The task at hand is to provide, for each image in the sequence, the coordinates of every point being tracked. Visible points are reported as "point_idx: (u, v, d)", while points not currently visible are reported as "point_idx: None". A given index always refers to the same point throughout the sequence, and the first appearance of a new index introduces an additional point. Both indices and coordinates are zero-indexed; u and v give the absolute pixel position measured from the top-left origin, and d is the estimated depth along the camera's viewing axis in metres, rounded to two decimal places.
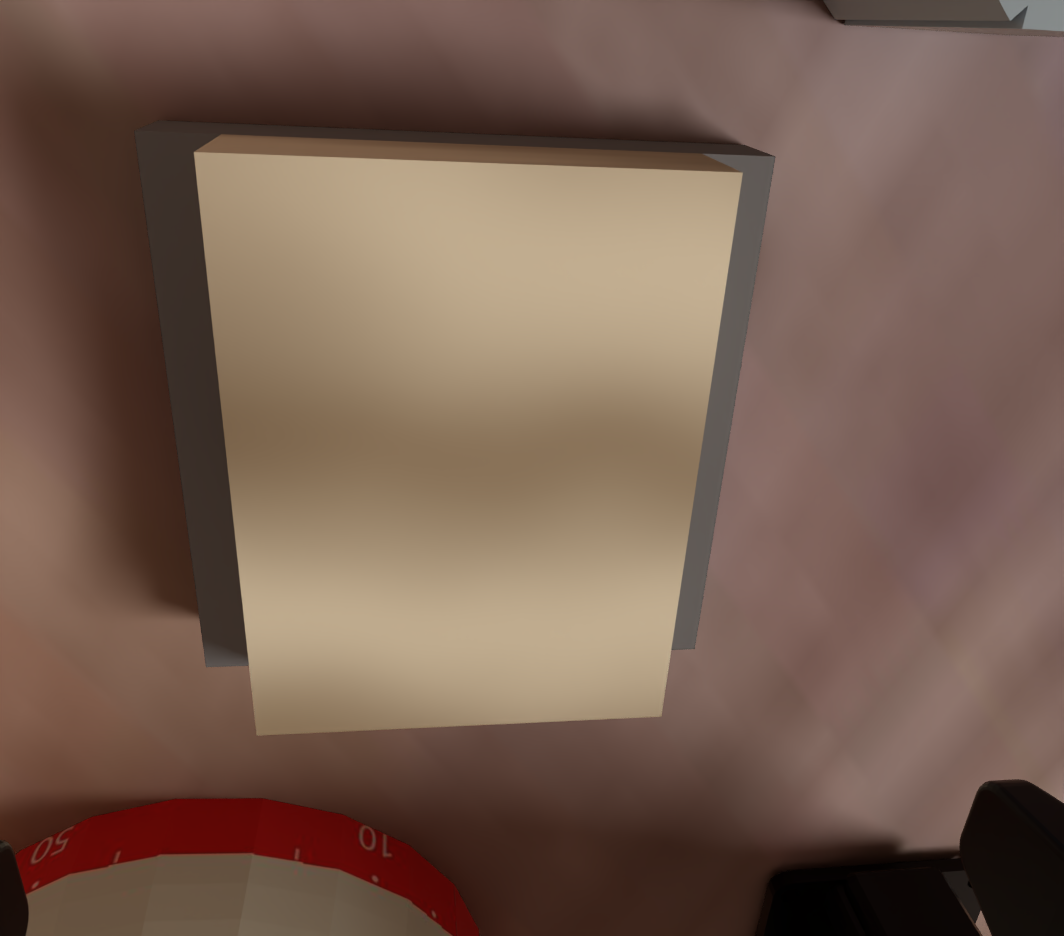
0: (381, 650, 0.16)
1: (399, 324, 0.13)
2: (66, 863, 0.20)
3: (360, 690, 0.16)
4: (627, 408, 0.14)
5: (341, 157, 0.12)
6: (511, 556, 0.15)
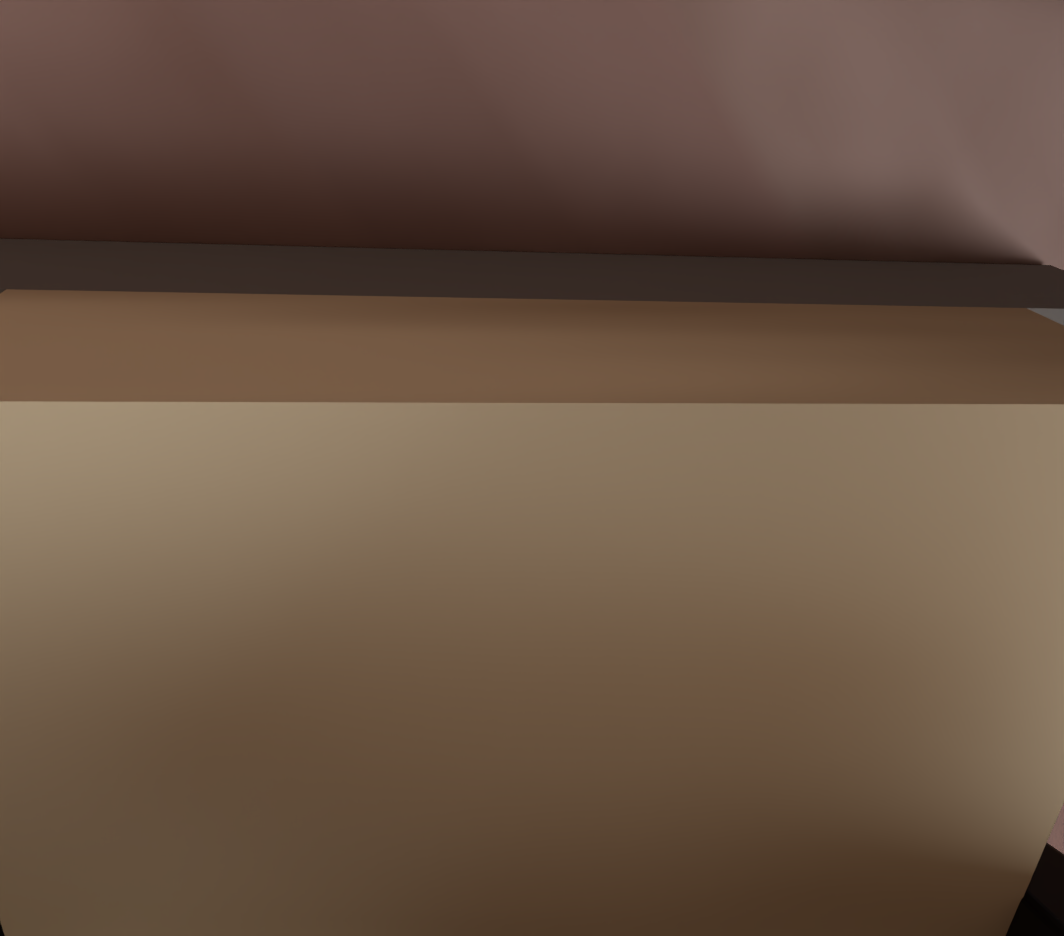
0: None
1: (403, 742, 0.06)
2: None
3: None
4: (885, 854, 0.07)
5: (252, 399, 0.05)
6: None
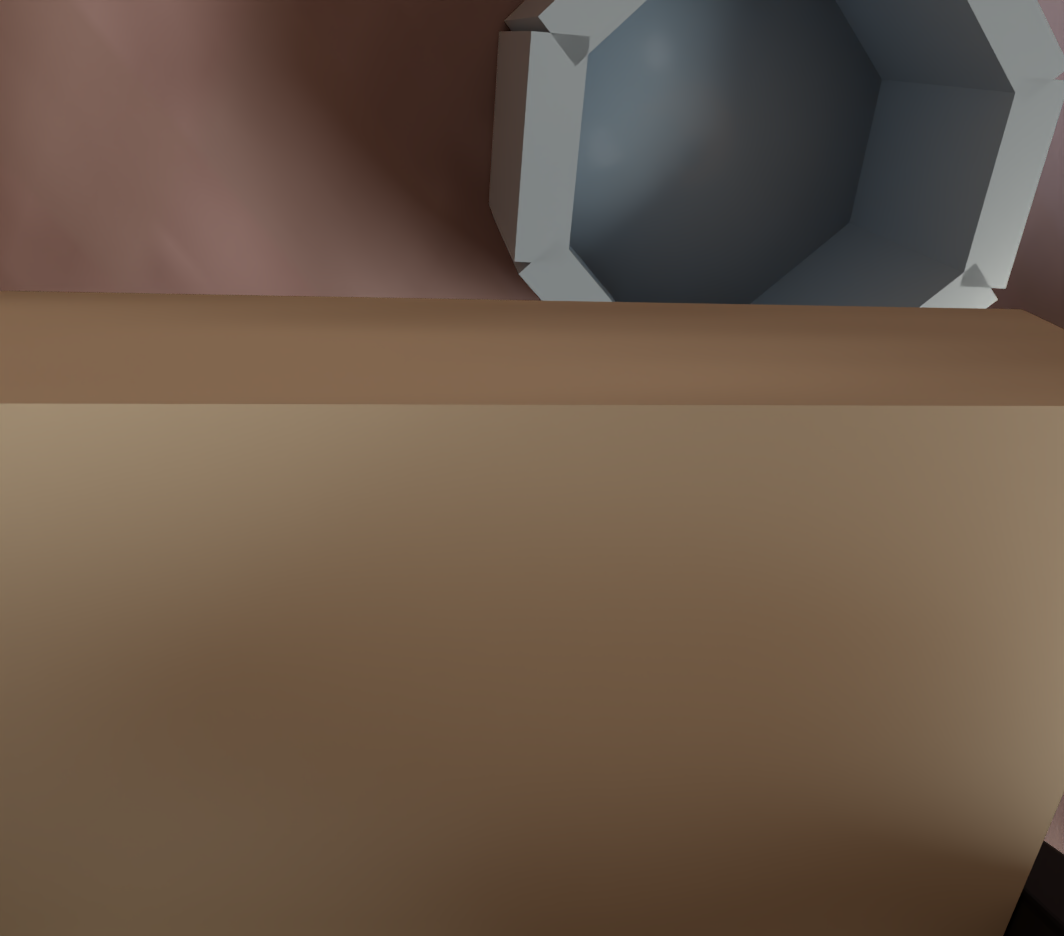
0: None
1: (398, 746, 0.06)
2: None
3: None
4: (881, 857, 0.07)
5: (246, 401, 0.05)
6: None
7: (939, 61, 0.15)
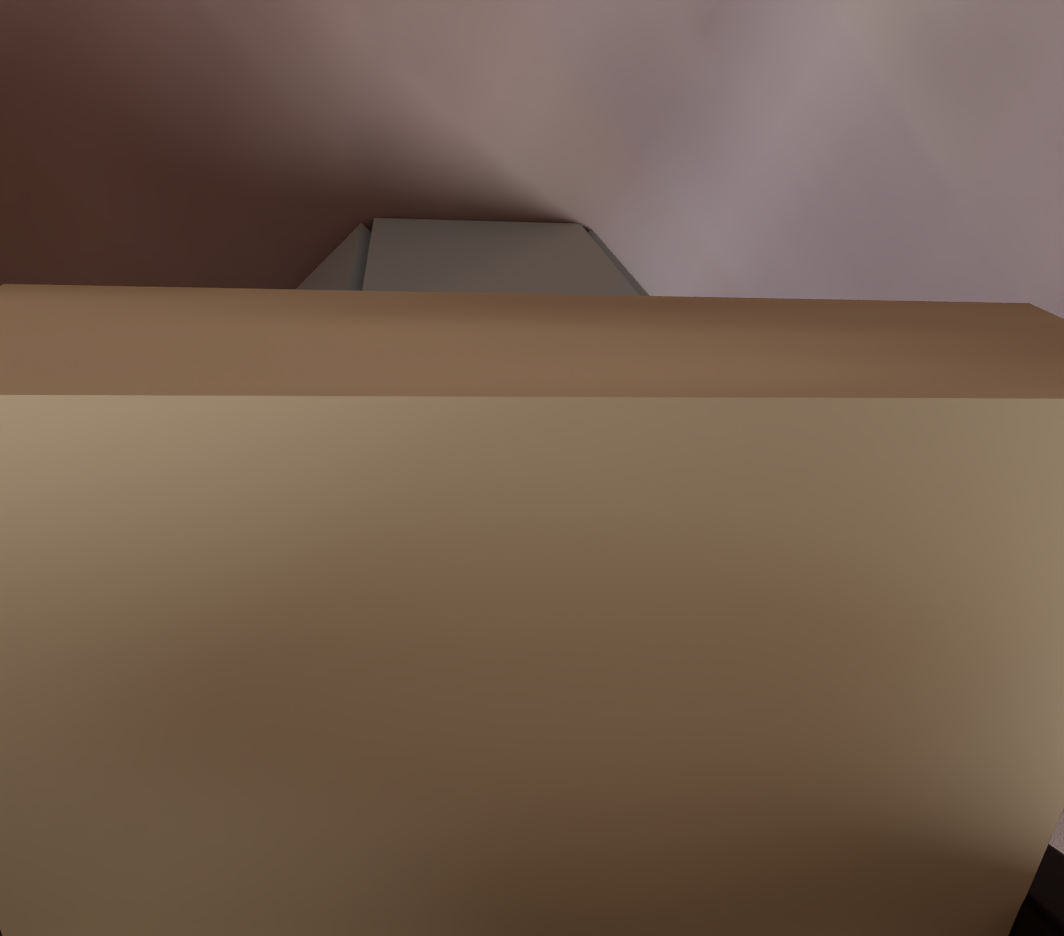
0: None
1: (402, 740, 0.06)
2: None
3: None
4: (887, 853, 0.07)
5: (251, 392, 0.05)
6: None
7: None
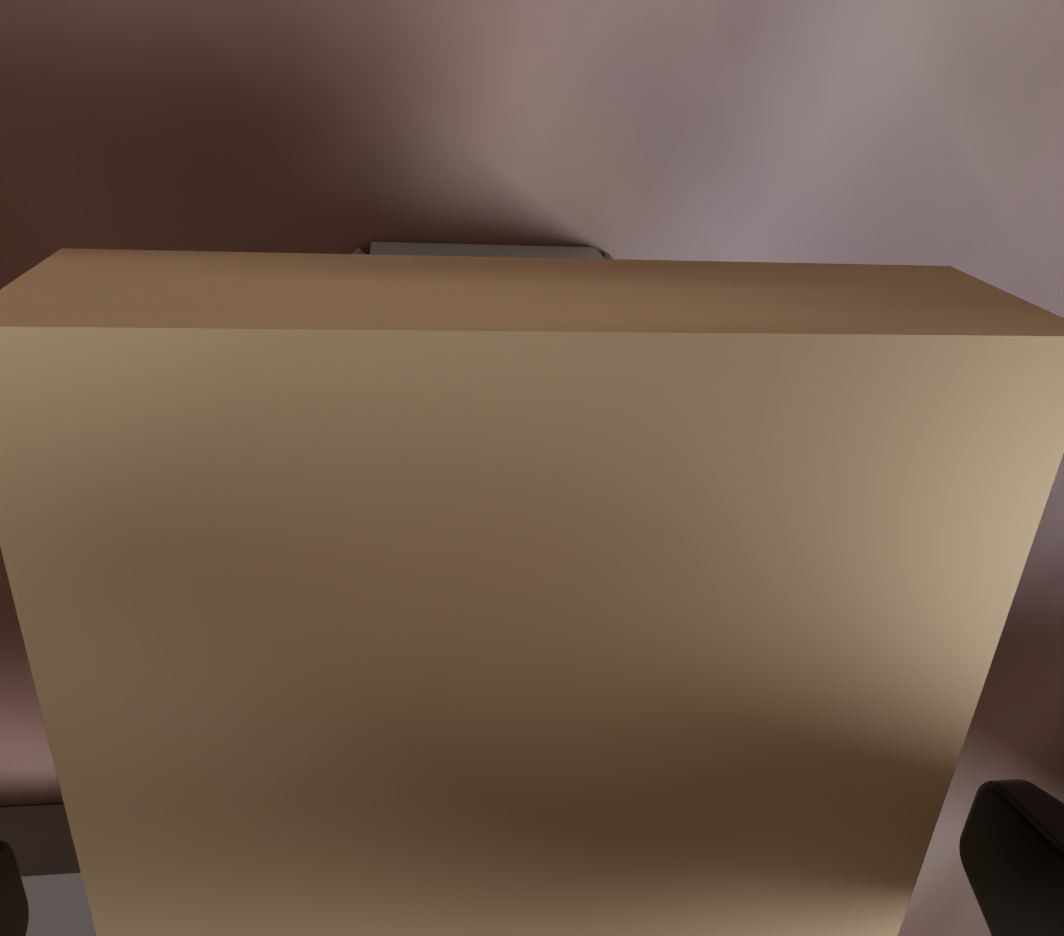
0: None
1: (405, 631, 0.07)
2: None
3: None
4: (824, 742, 0.08)
5: (278, 327, 0.06)
6: None
7: None
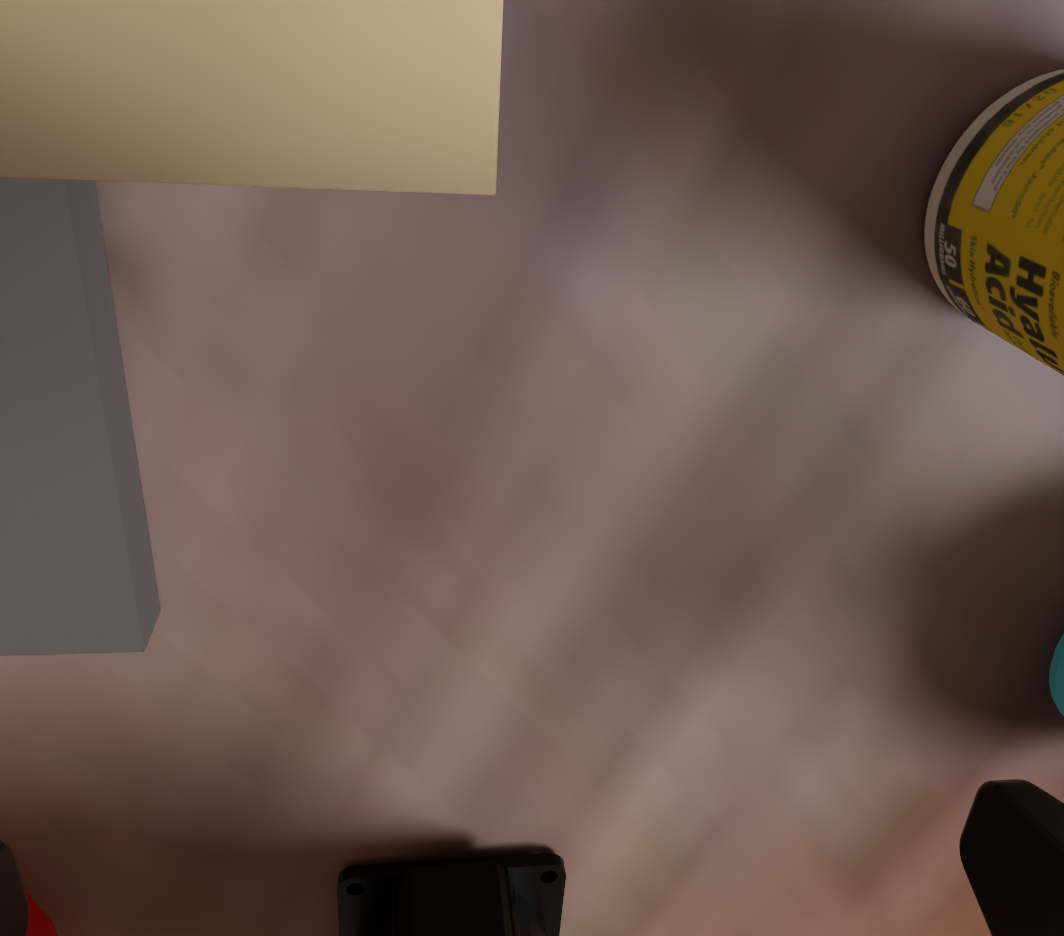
0: None
1: None
2: None
3: None
4: None
5: None
6: None
7: None
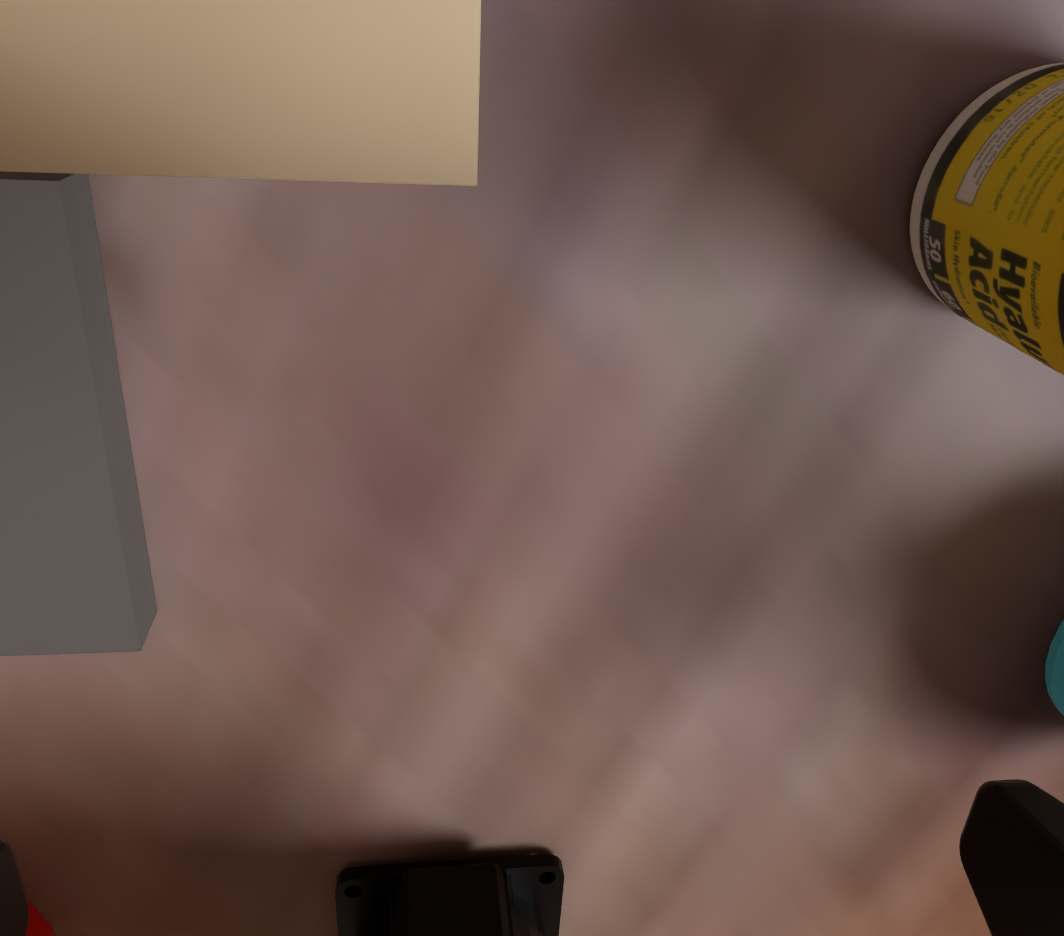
0: None
1: None
2: None
3: None
4: None
5: None
6: None
7: None
